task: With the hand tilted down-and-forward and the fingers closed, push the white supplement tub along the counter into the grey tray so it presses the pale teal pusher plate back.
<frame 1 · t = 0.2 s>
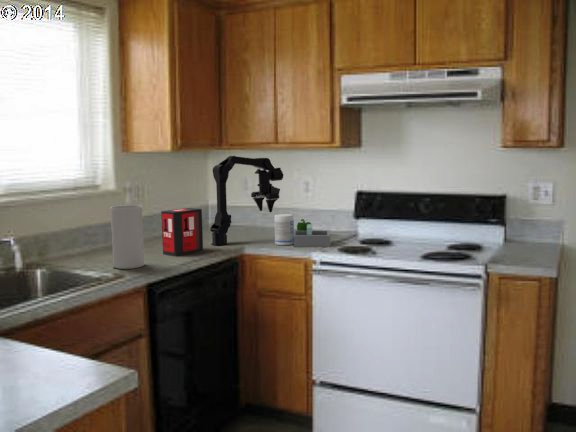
hand: (265, 211, 317), 14 cm above the table, tool pointing down, fingers open, 9 cm apart
cylinder vase: (129, 266, 253), on the table
supplement tub: (284, 244, 301), on the table
bell pepper: (304, 237, 322), on the table
pusher plate: (309, 234, 300), point 5 cm above the table, slide at 0.0 cm
cleaning product box: (183, 253, 283), on the table
grey tray: (311, 244, 301), on the table
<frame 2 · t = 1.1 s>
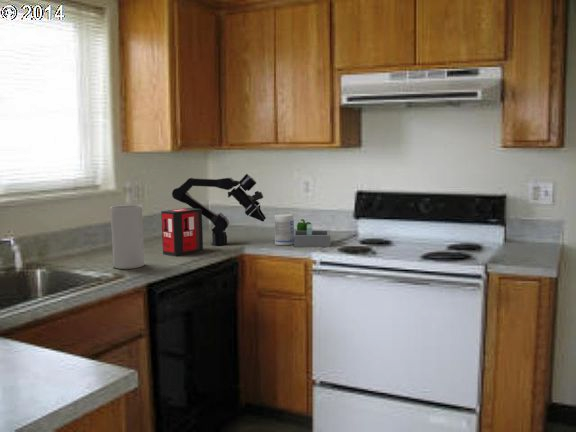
hand: (264, 219, 301), 12 cm above the table, tool tilted 45°, fingers open, 8 cm apart
nothing on the table moved.
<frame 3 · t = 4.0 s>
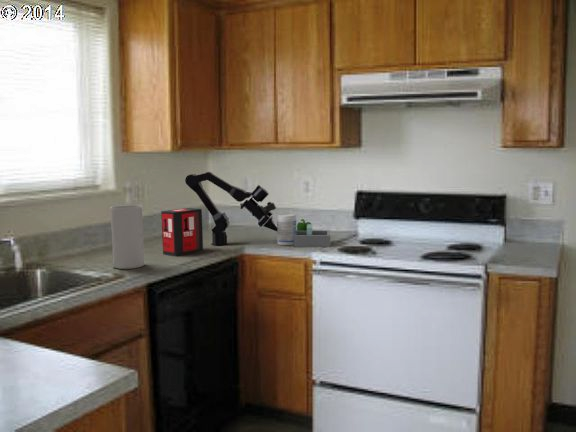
hand: (277, 230, 301), 7 cm above the table, tool tilted 45°, fingers closed
supplement tub: (287, 244, 301), on the table, touching gripper
everything else where it was.
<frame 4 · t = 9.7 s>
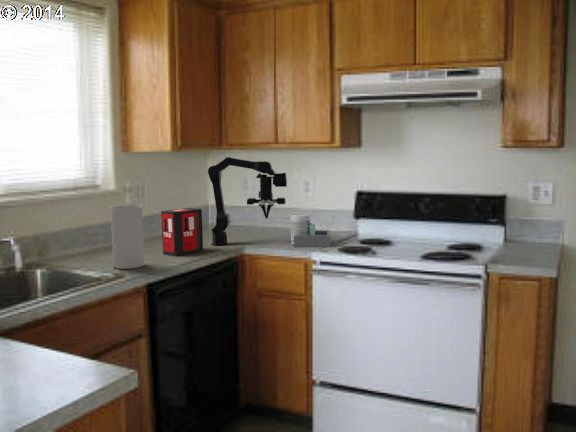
hand: (266, 218, 300), 13 cm above the table, tool pointing down, fingers closed
supplement tub: (300, 244, 301), on the table
pusher plate: (312, 234, 300), point 5 cm above the table, slide at 1.4 cm
everything else where it was.
at the end: supplement tub 5.1 cm from the grey tray (horizontally); pusher plate slide at 1.4 cm; supplement tub tilted 0° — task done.
